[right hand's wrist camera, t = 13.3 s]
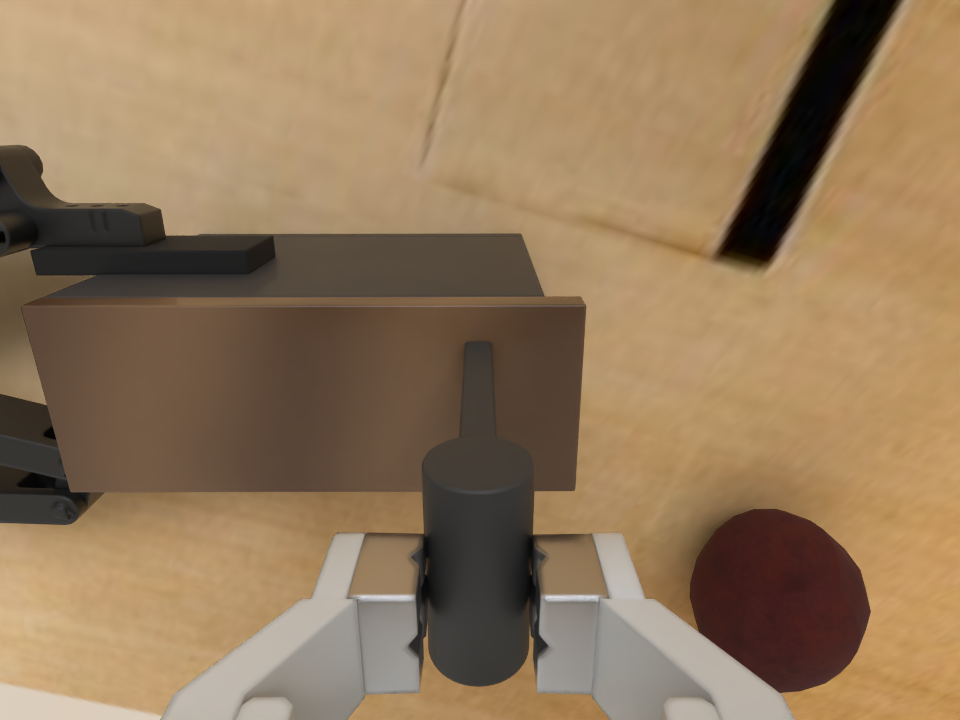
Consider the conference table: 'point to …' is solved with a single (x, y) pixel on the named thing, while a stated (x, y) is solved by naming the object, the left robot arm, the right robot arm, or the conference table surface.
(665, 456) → the conference table surface
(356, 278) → the chest
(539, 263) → the conference table surface
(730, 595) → the potato
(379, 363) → the lid
